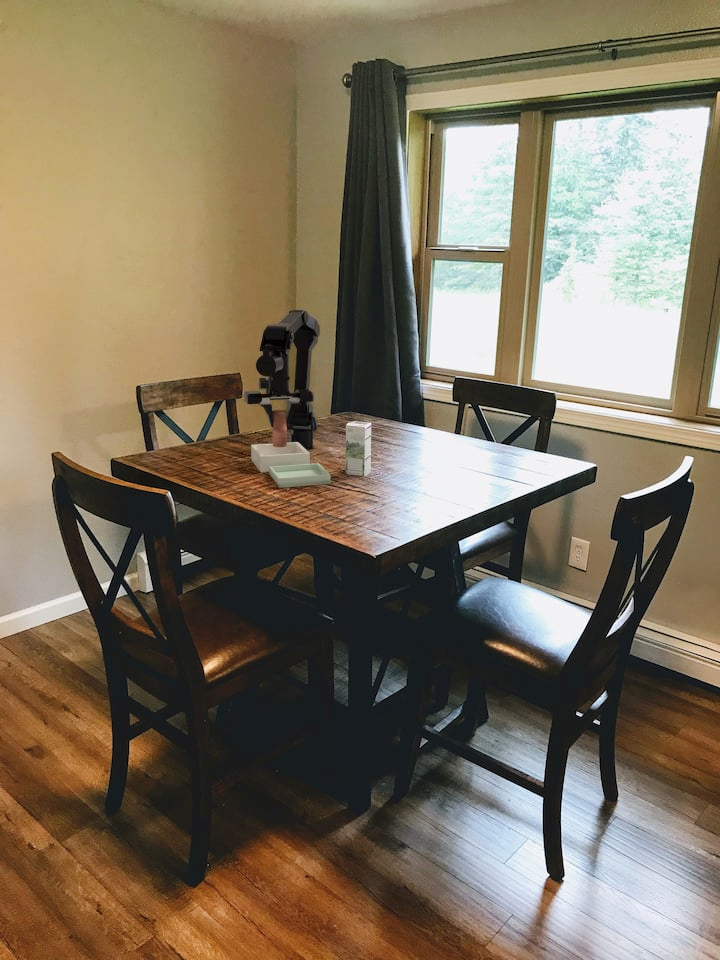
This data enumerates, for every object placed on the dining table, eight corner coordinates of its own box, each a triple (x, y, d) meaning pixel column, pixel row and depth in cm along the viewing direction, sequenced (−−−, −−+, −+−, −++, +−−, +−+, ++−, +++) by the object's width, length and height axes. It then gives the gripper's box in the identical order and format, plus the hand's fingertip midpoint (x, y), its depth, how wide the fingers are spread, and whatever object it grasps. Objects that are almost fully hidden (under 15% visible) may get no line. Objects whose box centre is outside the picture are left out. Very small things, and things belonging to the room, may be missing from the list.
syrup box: (371, 472, 214) (372, 421, 210) (364, 477, 208) (365, 426, 204) (351, 470, 215) (352, 420, 211) (344, 475, 210) (345, 424, 206)
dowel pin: (285, 443, 219) (284, 409, 217) (288, 446, 216) (287, 412, 213) (271, 444, 218) (270, 410, 215) (274, 447, 215) (273, 412, 212)
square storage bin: (298, 458, 227) (297, 441, 226) (309, 470, 215) (309, 453, 213) (251, 461, 223) (251, 444, 222) (260, 474, 210) (260, 456, 209)
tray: (318, 471, 213) (318, 463, 213) (330, 483, 202) (330, 474, 202) (269, 475, 209) (269, 466, 208) (278, 487, 198) (278, 478, 197)
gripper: (304, 366, 221) (304, 419, 226) (240, 368, 216) (241, 422, 220) (314, 372, 211) (314, 427, 215) (247, 374, 205) (248, 430, 210)
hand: (279, 426), depth 215 cm, fingers closed on dowel pin, 4 cm apart
